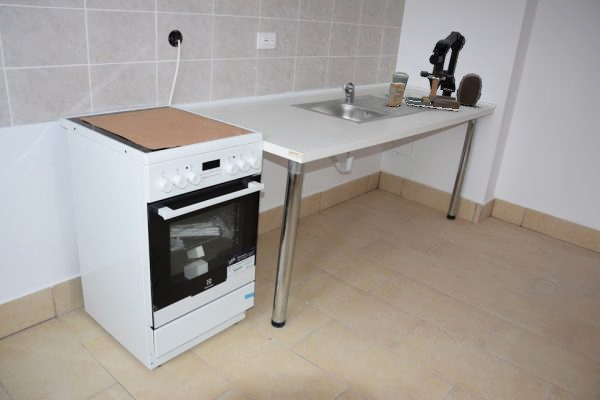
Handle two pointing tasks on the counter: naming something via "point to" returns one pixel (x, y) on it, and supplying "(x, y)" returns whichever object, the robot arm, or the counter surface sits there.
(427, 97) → the brass block
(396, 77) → the disposable coffee cup
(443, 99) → the railed tan board
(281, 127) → the counter surface
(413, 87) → the counter surface
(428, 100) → the brass block
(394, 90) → the supplement box
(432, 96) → the brown and grey block
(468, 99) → the dark brown rounded block
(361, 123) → the counter surface
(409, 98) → the slate tray
